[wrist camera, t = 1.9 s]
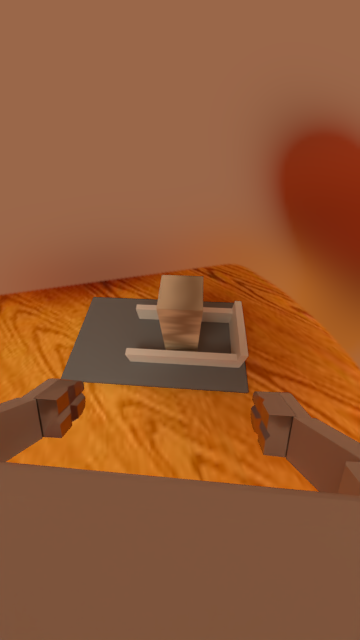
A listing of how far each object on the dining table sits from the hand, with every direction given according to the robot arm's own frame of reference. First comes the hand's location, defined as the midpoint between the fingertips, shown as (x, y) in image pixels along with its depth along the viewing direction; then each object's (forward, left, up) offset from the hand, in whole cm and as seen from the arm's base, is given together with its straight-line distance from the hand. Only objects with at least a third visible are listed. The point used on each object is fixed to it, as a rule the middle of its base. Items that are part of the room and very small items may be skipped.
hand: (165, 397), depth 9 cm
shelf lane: (-4, +12, -19) cm, 23 cm away
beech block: (0, +12, -19) cm, 23 cm away
